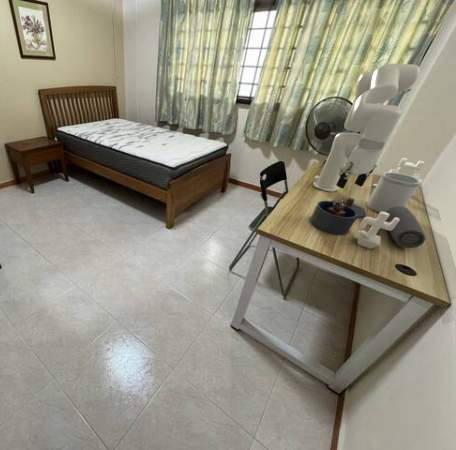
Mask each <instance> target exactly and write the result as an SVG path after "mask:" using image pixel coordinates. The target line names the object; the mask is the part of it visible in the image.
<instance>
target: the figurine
mask: <svg viewBox="0 0 456 450" xmlns="http://www.w3.org/2000/svg"><path fill="white" fill-rule="evenodd" d="M388 217H389V214H388V213H386V212H378V215H377V218H374V217H370V216H364V218H363V219H362V220H361V222H360V224H359V225H358V228H359V230H358V233H357V245H358V246H361V247H364V248H367V249H370V250H371V249H374V248H376V247H379V246H381V240H382V239H381V238H382V237H381V235H377V233H378V232H379V231H380V229H383V230H386V231H388V232H390V230H393V229H394V227H395V226H396V225H397V223H398V222H399V220H400V219H399V218H397V217H396V218H394V219H393V221H392V222H391V223H388V222H386V219H387V218H388ZM367 225H369V226H371V227H370V228H369V230H368V232H367V231H364V230H363V229H365V227H366V226H367Z"/></svg>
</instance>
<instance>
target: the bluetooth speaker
mask: <svg viewBox="0 0 456 450" xmlns="http://www.w3.org/2000/svg"><path fill="white" fill-rule="evenodd" d="M386 213H388V214H389V217H388V218H387V219H386V220H385V222H388V223H391V222H392V221H393V219H394V218H396V217H397V218H399V219H400V220H399V222H398V223H397V225H396V226H395V227H394V229H393V230H390V231H389V233H390V236H391V238H392V239H393V241H394V242H395V243H396V244H397V245H398V246H399V247H402V248H406V249H415V248H418V247H420V246H422V245H423V244H424V243H425V241H426V235H425V233H424V230H423V228H422V226H421V224H420V223H419V221H418V220H417V217H415V215H414V214H413V213H412V212H411V210H410V209H408V208H407V207H406V206H405V207H403V206H395V207H392V208H390V209H388V210H387V211H386Z"/></svg>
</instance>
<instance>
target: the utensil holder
mask: <svg viewBox="0 0 456 450" xmlns="http://www.w3.org/2000/svg"><path fill="white" fill-rule="evenodd" d="M376 184H377V186H375V187H374V190H373V191H372V193H371V196H370V197H369V198H368V201H367V203H366V206H367V208H369V209H370V210H372V211H374V212H377V213H380V212H386V211H387V210H388V209H390V208H392V207H395V206H403V207H406V206H407V205H408V203H409V201H410V200H411V199H412V197H413V196H414V195H415V193H416V191H417V190H418V188H419V187H420V186H421V185H422V184H423V180H422V179H421V178H420V177H419V178H417V177H414V176H411V175H408V174H403V173H398V171H396V172H389V171H385V172H383V173H381V176H380V179H379V181H378V183H376Z"/></svg>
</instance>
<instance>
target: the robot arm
mask: <svg viewBox="0 0 456 450" xmlns="http://www.w3.org/2000/svg"><path fill="white" fill-rule="evenodd" d="M420 73H421V68H420V67H419V65H417V64H412V63H387V64H382V65H381V66H379V67H377V69H375V71H367V72H364V73H362V74H361V75H360V76H359V78H358V80H357V82H356V85H355V96H354V100H353V103H352V106H351V108H350V109H349V112H348V114H347V117H346V119H345V121H344V125H343V127H344V129H345V130H347V131H351V132H339V133H337V134H336V135H335V136H334V138H333V141H332V145H331V148H330V150H329V154H328V157H327V159H326V161H325V164H324V166H323V168H322V169H321V172H320V174H319V175H315V176H314V177H313V180H315V181H314V182H313V184H312V186H313V187H314V188H316V189H318V190H320V191H325V192H337V191H338V188H340V189H344V188H345V187H346V185H347V183H348V181H349V177H351V176H353V175H354V176H355V175H357V177H356V179H355V181H354V185H357V186H359V187H363V186H364V184H365V183H366V180H367V179H368V178H369V177H370V175H371V174H373V172H374V171H375V170H376V169H377V167H378V165H377V164H376V163H377V161H378V159H379V157H380V155H381V152H382V150H383V149H384V147H385V144H386V143H387V141H388V140H389V139H390V136H391V134H392V132H393V130H394V129H395V127H396V125H397V123H398V122H399V120H400V119H401V116H402V114H403V111H402V110H401V107H400V106H398V105H394V104H382V103H385V102H388V101H390V100H391V99H393V98H394V97H395V96H396V95H399V94H401V93H403V92H405V91H407V90H408V89H411V88H412V87H413V86H414V85H415V83H416V82H417V81H418V79H419V76H420ZM354 132H360V133H354ZM362 133H363V134H362ZM346 153H350V154H349V156H347V154H346Z"/></svg>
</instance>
